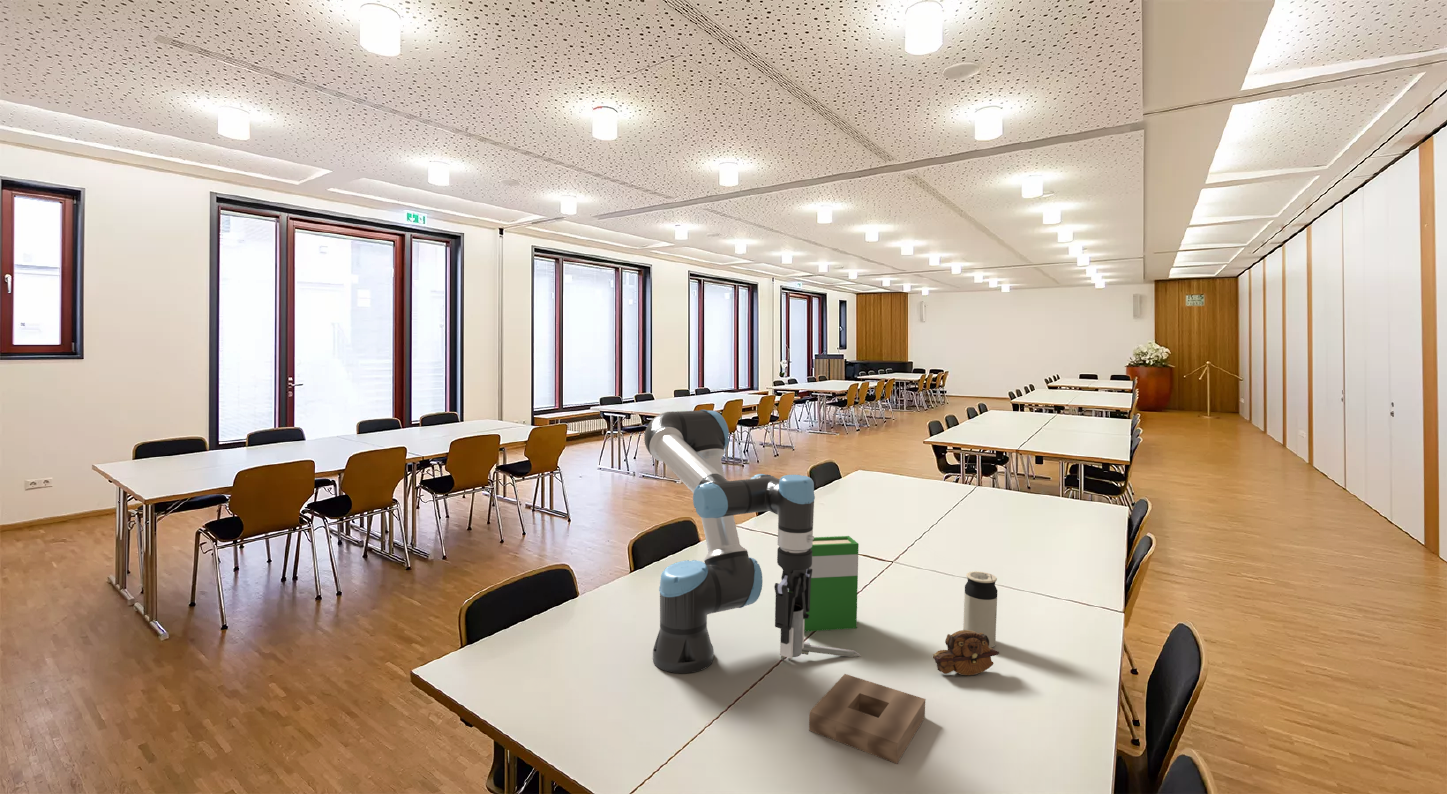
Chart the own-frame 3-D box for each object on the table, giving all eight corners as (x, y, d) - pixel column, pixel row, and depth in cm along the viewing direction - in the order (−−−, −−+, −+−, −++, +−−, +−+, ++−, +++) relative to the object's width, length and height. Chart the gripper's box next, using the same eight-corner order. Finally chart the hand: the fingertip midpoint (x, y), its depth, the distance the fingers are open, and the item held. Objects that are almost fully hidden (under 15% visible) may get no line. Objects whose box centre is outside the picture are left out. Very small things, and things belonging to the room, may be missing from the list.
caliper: (781, 662, 153) (782, 637, 153) (780, 660, 154) (781, 635, 154) (860, 657, 156) (861, 633, 156) (858, 655, 157) (859, 631, 157)
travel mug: (961, 645, 163) (963, 578, 161) (964, 633, 170) (967, 568, 168) (994, 652, 159) (996, 583, 158) (996, 639, 166) (999, 574, 165)
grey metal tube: (800, 647, 138) (801, 602, 137) (803, 657, 134) (804, 611, 133) (779, 647, 138) (781, 602, 137) (782, 657, 133) (783, 611, 132)
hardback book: (795, 632, 169) (796, 546, 168) (788, 620, 177) (789, 538, 175) (856, 628, 172) (858, 543, 171) (846, 617, 179) (848, 535, 178)
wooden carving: (942, 683, 144) (943, 641, 143) (930, 673, 148) (931, 632, 147) (1001, 674, 148) (1003, 633, 147) (989, 664, 152) (990, 625, 152)
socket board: (809, 730, 125) (809, 711, 125) (844, 690, 140) (844, 673, 140) (896, 763, 115) (897, 743, 115) (924, 717, 130) (925, 699, 130)
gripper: (791, 562, 124) (788, 673, 126) (828, 540, 139) (824, 640, 141) (759, 554, 128) (756, 662, 130) (798, 534, 143) (795, 631, 145)
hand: (792, 651), depth 136 cm, fingers closed on grey metal tube, 4 cm apart
